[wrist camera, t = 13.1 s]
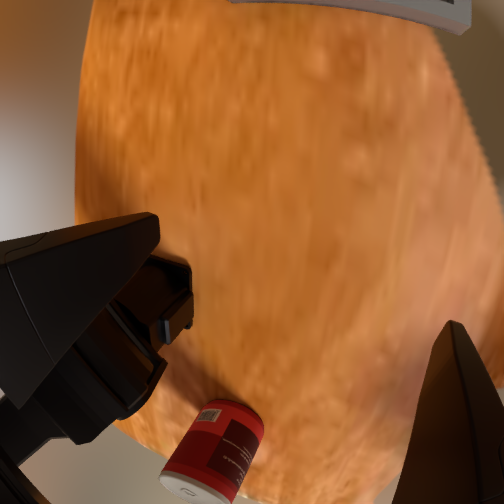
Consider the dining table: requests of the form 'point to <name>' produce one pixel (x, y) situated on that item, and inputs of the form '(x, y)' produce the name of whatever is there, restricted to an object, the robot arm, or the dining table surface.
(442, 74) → the dining table surface
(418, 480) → the robot arm
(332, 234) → the dining table surface
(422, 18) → the tray
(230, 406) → the canned food
